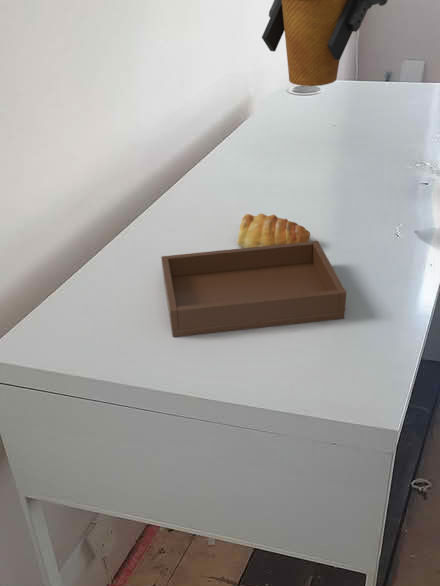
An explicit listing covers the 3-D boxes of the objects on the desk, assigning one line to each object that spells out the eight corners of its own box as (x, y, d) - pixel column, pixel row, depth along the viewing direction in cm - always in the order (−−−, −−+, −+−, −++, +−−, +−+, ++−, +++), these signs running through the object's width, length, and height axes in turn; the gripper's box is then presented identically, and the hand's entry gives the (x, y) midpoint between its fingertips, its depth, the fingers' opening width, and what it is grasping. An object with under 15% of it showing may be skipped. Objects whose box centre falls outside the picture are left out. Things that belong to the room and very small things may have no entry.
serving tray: (316, 265, 91) (317, 240, 89) (344, 318, 81) (346, 292, 79) (163, 280, 90) (161, 256, 88) (172, 337, 80) (170, 310, 78)
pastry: (312, 237, 97) (314, 209, 95) (304, 259, 93) (305, 231, 90) (245, 232, 99) (244, 205, 97) (234, 254, 95) (233, 226, 92)
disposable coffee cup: (359, 84, 93) (367, -26, 85) (289, 93, 92) (291, -19, 84) (333, 68, 100) (338, -36, 92) (268, 76, 99) (268, -29, 91)
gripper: (464, -96, 88) (384, 77, 89) (313, -96, 99) (245, 58, 100) (451, -151, 81) (366, 37, 83) (292, -145, 92) (219, 21, 94)
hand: (300, 48), depth 92 cm, fingers closed on disposable coffee cup, 9 cm apart
